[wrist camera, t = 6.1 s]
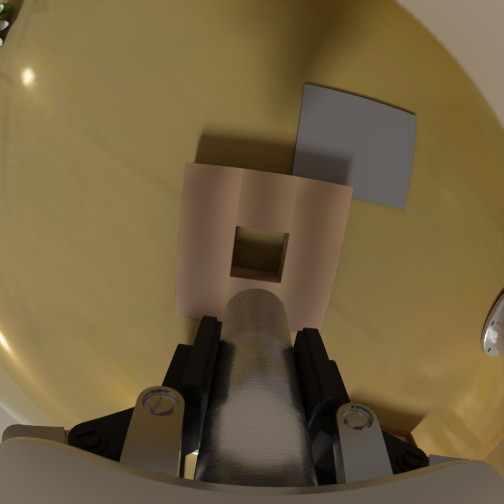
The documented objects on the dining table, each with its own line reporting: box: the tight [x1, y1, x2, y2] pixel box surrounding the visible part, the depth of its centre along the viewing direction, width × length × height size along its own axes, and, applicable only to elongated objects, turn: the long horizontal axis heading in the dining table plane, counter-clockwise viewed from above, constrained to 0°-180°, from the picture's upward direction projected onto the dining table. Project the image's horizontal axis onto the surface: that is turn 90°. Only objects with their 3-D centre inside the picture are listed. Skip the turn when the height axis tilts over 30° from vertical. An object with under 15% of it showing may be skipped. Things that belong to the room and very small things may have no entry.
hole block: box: [175, 163, 353, 333], centre depth 25 cm, size 14×14×3 cm
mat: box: [291, 84, 417, 210], centre depth 24 cm, size 12×10×1 cm
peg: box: [194, 288, 318, 487], centre depth 9 cm, size 3×3×10 cm
